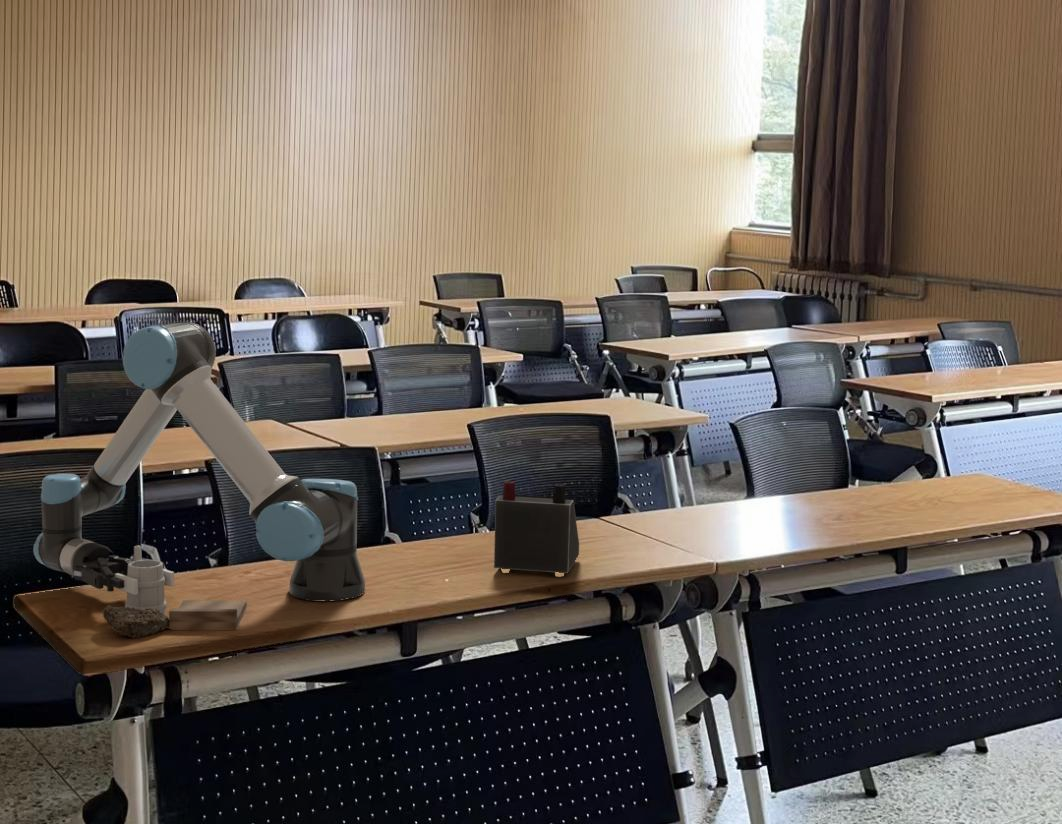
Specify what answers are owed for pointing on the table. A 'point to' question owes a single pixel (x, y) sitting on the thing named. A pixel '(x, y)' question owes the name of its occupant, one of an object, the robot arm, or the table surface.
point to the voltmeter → (535, 531)
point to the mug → (146, 583)
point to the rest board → (207, 615)
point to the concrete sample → (135, 621)
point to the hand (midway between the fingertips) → (154, 583)
